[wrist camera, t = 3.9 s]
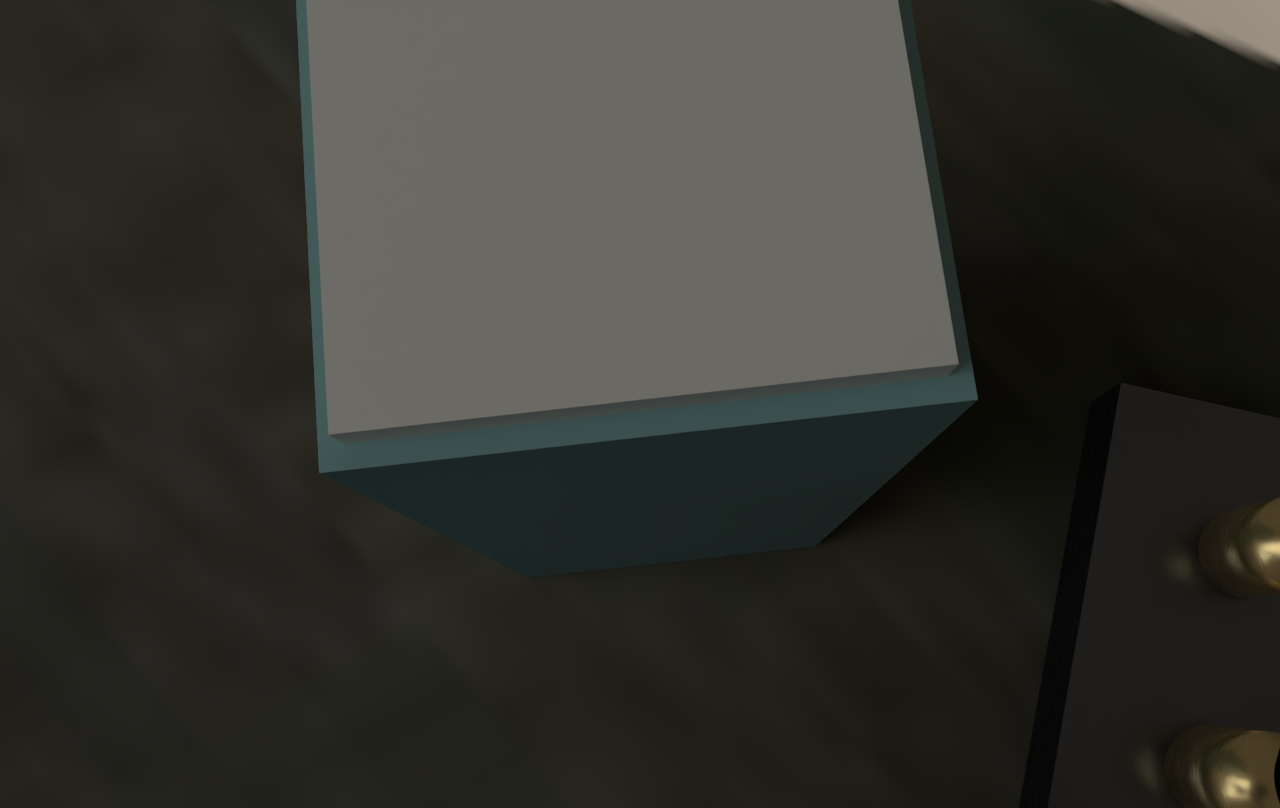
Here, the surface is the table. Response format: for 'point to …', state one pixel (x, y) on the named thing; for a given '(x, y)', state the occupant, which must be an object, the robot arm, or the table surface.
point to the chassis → (1165, 614)
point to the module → (624, 269)
